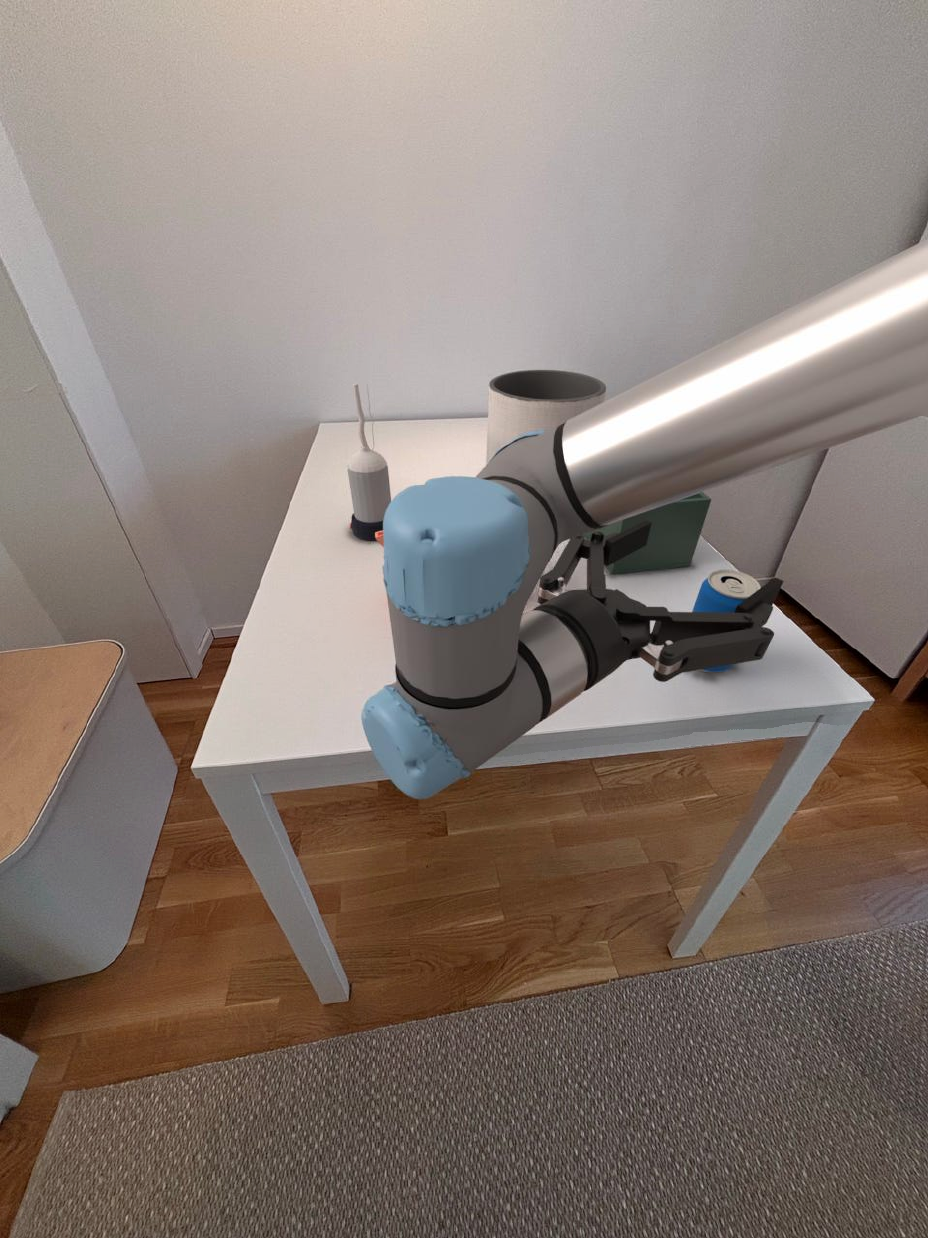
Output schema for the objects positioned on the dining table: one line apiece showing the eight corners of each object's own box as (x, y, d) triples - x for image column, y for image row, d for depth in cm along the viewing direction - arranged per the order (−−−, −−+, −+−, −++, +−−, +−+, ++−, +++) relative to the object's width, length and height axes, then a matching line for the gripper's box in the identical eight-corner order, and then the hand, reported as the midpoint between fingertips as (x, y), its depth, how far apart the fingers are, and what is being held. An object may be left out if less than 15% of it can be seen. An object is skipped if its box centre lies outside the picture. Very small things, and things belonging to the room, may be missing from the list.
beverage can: (722, 644, 69) (753, 568, 62) (737, 678, 64) (773, 600, 57) (673, 641, 70) (698, 566, 62) (684, 674, 65) (713, 597, 57)
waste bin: (690, 566, 84) (711, 499, 77) (611, 574, 82) (625, 506, 75) (652, 526, 95) (668, 464, 87) (581, 533, 93) (591, 470, 85)
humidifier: (346, 525, 95) (322, 381, 80) (387, 515, 98) (372, 374, 83) (361, 545, 90) (339, 394, 74) (405, 533, 93) (392, 386, 77)
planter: (607, 478, 111) (625, 378, 99) (563, 519, 97) (577, 408, 84) (517, 457, 121) (523, 363, 108) (465, 491, 106) (465, 388, 94)
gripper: (455, 612, 50) (598, 542, 60) (684, 790, 35) (821, 655, 45) (454, 545, 45) (609, 481, 56) (719, 717, 30) (863, 585, 40)
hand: (704, 559), depth 50 cm, fingers open, 13 cm apart
